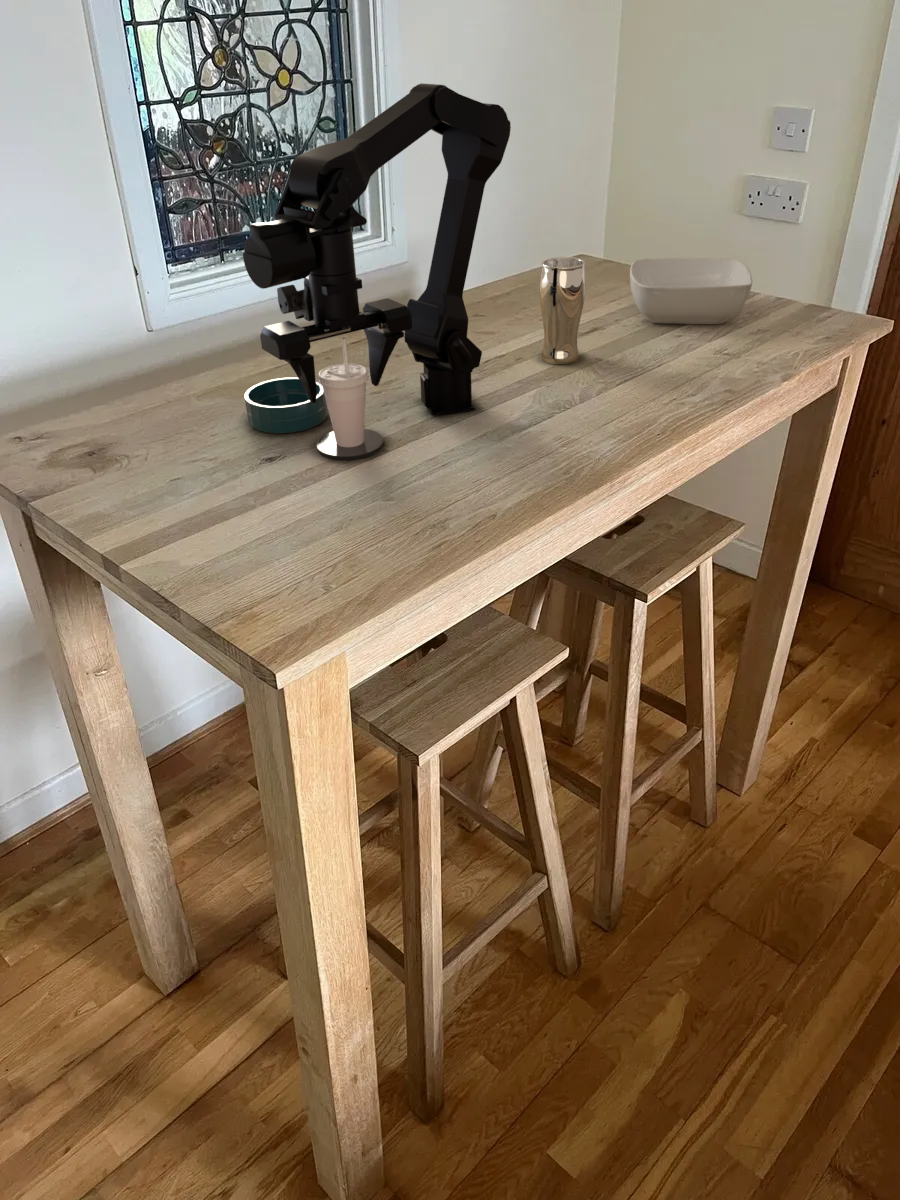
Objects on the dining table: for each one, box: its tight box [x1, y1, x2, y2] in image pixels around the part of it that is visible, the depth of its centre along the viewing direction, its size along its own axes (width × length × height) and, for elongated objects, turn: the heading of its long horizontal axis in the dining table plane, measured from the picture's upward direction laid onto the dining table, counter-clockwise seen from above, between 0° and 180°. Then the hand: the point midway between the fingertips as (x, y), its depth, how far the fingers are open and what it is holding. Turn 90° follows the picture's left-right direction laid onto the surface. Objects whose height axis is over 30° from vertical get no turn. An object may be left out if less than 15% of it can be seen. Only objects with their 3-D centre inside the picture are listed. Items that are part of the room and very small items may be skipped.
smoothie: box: [318, 337, 369, 447], centre depth 118 cm, size 6×6×14 cm
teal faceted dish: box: [243, 377, 329, 434], centre depth 130 cm, size 11×11×4 cm
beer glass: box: [539, 256, 586, 365], centre depth 143 cm, size 7×7×15 cm
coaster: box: [315, 428, 385, 461], centre depth 122 cm, size 9×9×1 cm
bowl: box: [629, 257, 753, 325], centre depth 162 cm, size 20×20×8 cm
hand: (344, 393), depth 118 cm, fingers open, 9 cm apart
